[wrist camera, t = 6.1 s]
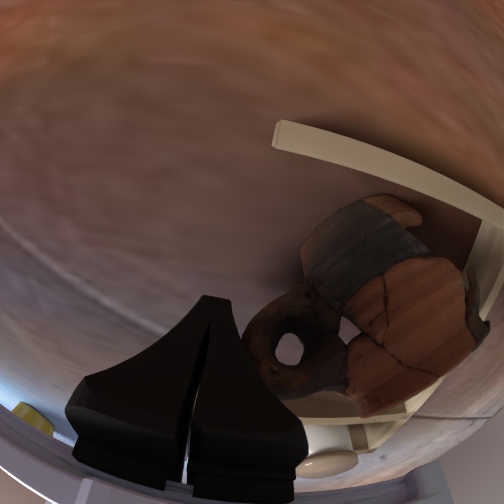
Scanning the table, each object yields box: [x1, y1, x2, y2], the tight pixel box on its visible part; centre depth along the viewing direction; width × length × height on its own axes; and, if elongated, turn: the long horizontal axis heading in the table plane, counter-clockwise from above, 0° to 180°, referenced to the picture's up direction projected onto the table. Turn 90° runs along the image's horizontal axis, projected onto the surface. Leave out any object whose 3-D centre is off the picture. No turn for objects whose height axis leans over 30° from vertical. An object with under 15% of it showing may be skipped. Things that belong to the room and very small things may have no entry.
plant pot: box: [11, 402, 54, 437], centre depth 20 cm, size 10×10×10 cm
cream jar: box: [296, 425, 358, 479], centre depth 16 cm, size 4×4×6 cm
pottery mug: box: [241, 195, 490, 419], centre depth 12 cm, size 12×10×8 cm
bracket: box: [271, 119, 504, 454], centre depth 14 cm, size 22×14×3 cm, turn 169°
